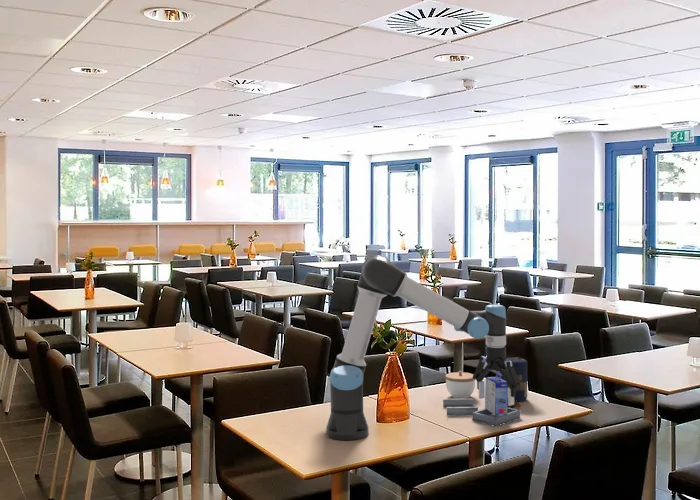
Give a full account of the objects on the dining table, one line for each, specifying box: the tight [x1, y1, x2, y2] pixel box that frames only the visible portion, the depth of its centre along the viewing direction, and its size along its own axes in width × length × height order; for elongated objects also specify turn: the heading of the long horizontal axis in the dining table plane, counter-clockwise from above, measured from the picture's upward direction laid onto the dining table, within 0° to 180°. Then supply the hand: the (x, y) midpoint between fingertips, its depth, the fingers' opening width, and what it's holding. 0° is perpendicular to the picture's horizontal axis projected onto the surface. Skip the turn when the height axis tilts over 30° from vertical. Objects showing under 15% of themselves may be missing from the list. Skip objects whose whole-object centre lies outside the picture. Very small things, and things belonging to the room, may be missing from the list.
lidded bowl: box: [445, 370, 476, 399], centre depth 296 cm, size 13×13×11 cm
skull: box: [508, 401, 522, 410], centre depth 281 cm, size 12×10×10 cm
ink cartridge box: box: [484, 371, 508, 415], centre depth 263 cm, size 10×6×14 cm, turn 12°
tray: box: [471, 407, 521, 427], centre depth 263 cm, size 11×15×3 cm
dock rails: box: [442, 398, 479, 416], centre depth 276 cm, size 12×13×3 cm
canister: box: [503, 356, 528, 402], centre depth 290 cm, size 10×10×18 cm
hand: (496, 401), depth 263 cm, fingers open, 13 cm apart
